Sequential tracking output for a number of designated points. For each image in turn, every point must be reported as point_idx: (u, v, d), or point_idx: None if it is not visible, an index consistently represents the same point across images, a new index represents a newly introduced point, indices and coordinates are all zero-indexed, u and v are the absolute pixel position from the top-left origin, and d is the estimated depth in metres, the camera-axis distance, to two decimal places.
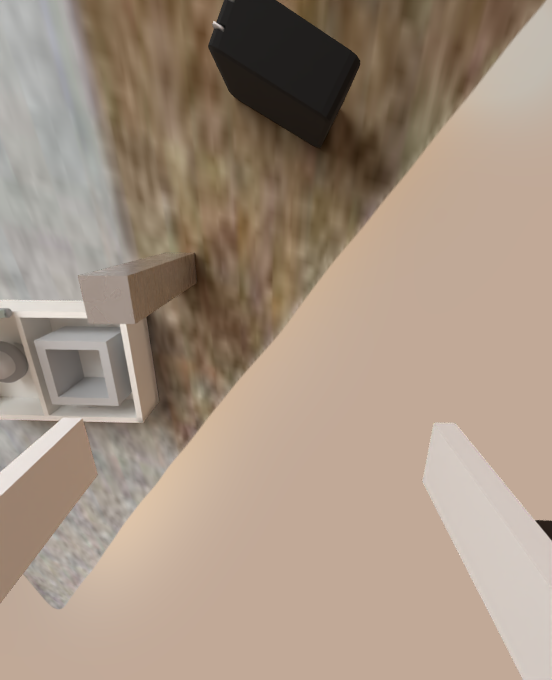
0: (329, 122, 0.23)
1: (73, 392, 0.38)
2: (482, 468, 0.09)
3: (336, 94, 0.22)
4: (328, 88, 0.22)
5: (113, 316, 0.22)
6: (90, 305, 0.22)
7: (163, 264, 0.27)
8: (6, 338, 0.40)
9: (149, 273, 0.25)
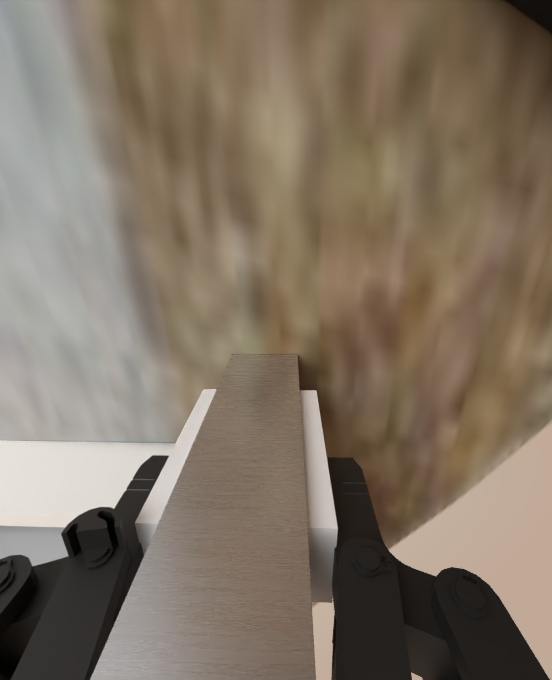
0: None
1: None
2: (312, 421, 0.11)
3: None
4: None
5: None
6: None
7: (305, 516, 0.07)
8: None
9: None
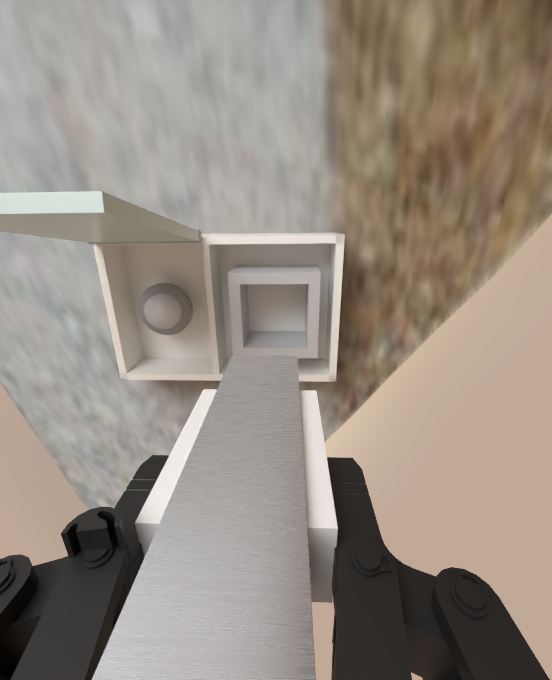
0: None
1: (255, 344, 0.31)
2: (312, 421, 0.11)
3: None
4: None
5: None
6: None
7: (305, 518, 0.07)
8: (162, 282, 0.33)
9: None
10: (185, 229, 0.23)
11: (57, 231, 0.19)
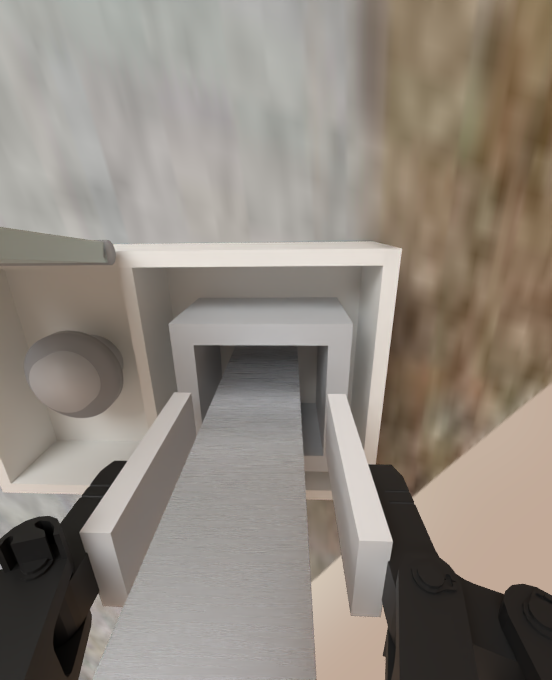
0: None
1: None
2: (347, 426, 0.11)
3: None
4: None
5: None
6: None
7: (301, 436, 0.10)
8: (74, 326, 0.19)
9: None
10: (39, 242, 0.10)
11: None
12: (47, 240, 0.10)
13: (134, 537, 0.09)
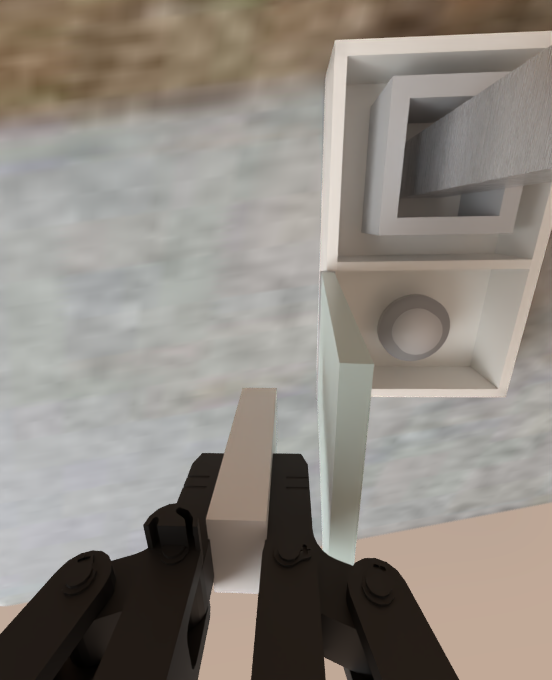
0: None
1: (492, 197, 0.19)
2: (266, 418, 0.12)
3: None
4: None
5: None
6: None
7: (477, 95, 0.13)
8: (374, 330, 0.27)
9: None
10: (328, 282, 0.17)
11: None
12: (327, 280, 0.18)
13: None
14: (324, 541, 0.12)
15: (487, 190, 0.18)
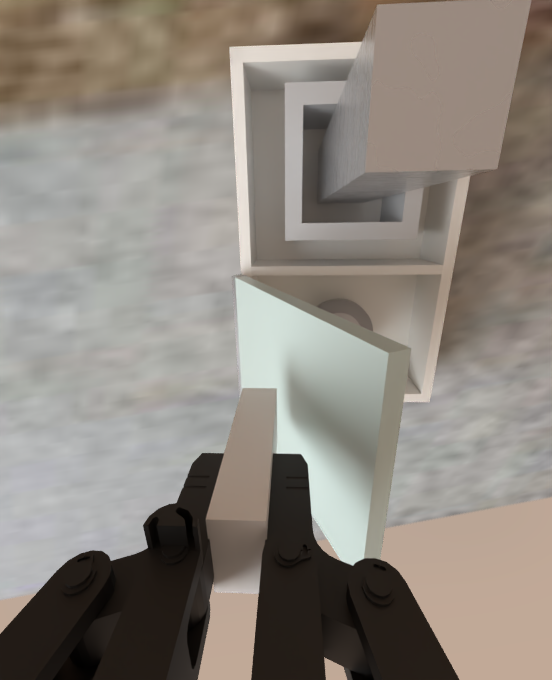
0: None
1: (398, 203, 0.20)
2: (266, 418, 0.12)
3: None
4: None
5: (493, 80, 0.08)
6: (448, 151, 0.08)
7: None
8: None
9: None
10: (258, 285, 0.18)
11: None
12: (254, 284, 0.18)
13: None
14: (336, 526, 0.13)
15: (383, 196, 0.18)
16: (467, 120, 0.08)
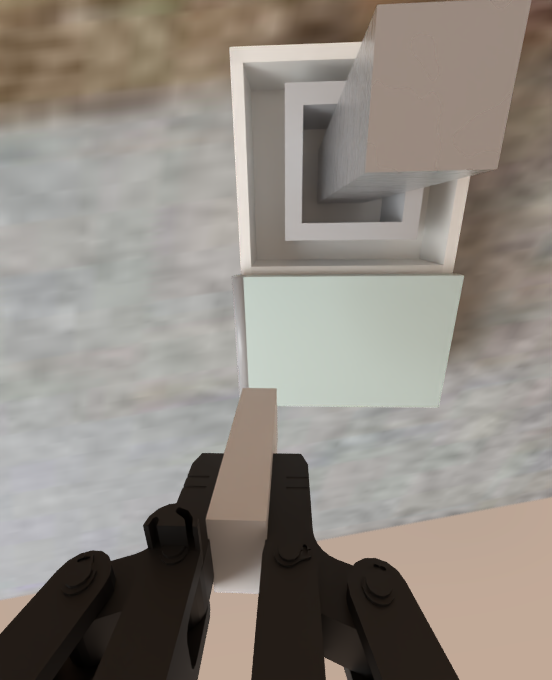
0: None
1: (398, 203, 0.20)
2: (266, 417, 0.12)
3: None
4: None
5: (493, 81, 0.08)
6: (448, 151, 0.08)
7: None
8: None
9: None
10: (296, 276, 0.20)
11: None
12: (291, 276, 0.20)
13: None
14: (418, 390, 0.23)
15: (383, 196, 0.18)
16: (467, 120, 0.08)
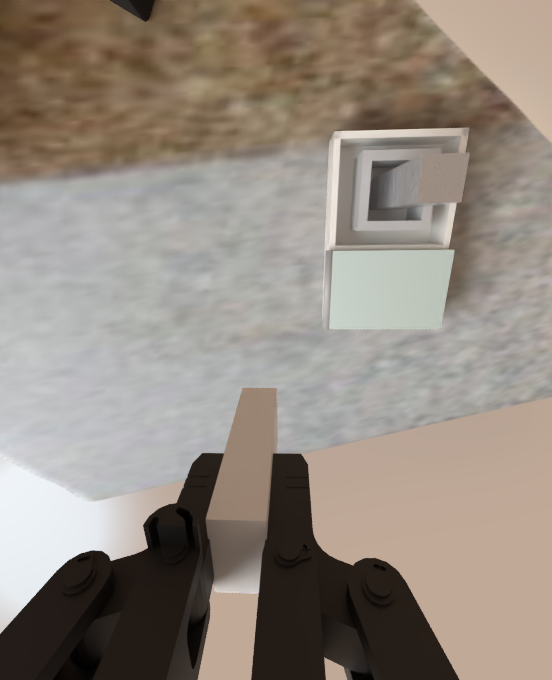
0: None
1: (419, 210, 0.36)
2: (266, 418, 0.12)
3: None
4: None
5: (459, 175, 0.24)
6: (445, 196, 0.25)
7: (396, 167, 0.30)
8: None
9: None
10: (362, 250, 0.37)
11: None
12: (359, 250, 0.37)
13: None
14: (428, 318, 0.39)
15: (412, 207, 0.34)
16: (451, 187, 0.24)
